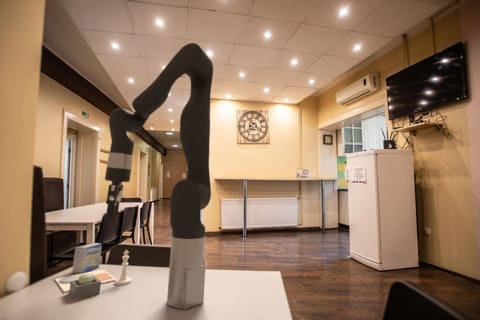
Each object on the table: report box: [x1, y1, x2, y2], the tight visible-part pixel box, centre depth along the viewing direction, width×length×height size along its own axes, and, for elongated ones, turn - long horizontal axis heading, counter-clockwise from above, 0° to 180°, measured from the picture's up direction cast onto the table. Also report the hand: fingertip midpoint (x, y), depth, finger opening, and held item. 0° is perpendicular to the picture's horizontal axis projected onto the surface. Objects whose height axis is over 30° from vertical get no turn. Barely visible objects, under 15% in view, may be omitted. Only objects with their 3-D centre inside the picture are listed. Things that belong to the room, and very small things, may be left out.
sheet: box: [54, 269, 117, 294], centre depth 75 cm, size 13×14×1 cm
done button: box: [78, 274, 94, 285], centre depth 66 cm, size 4×4×2 cm
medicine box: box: [72, 242, 103, 274], centre depth 86 cm, size 8×4×9 cm, turn 171°
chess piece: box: [114, 249, 132, 286], centre depth 75 cm, size 5×5×10 cm
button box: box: [68, 276, 102, 301], centre depth 66 cm, size 6×6×3 cm
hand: (112, 215), depth 77 cm, fingers open, 8 cm apart
